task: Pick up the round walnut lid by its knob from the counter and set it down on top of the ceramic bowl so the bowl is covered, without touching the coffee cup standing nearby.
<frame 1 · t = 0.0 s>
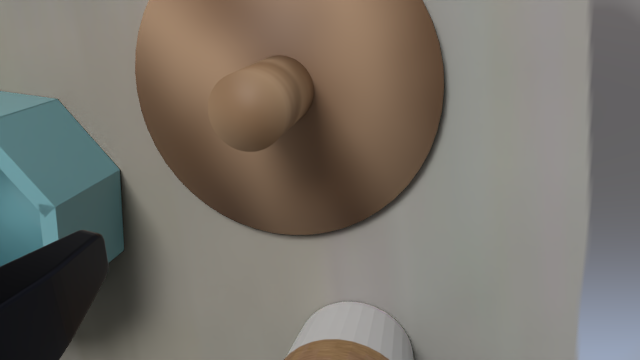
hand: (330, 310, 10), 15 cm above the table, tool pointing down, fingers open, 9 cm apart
bowl: (28, 194, 30), on the table
coffee cup: (356, 348, 29), on the table
lid: (285, 86, 25), on the table
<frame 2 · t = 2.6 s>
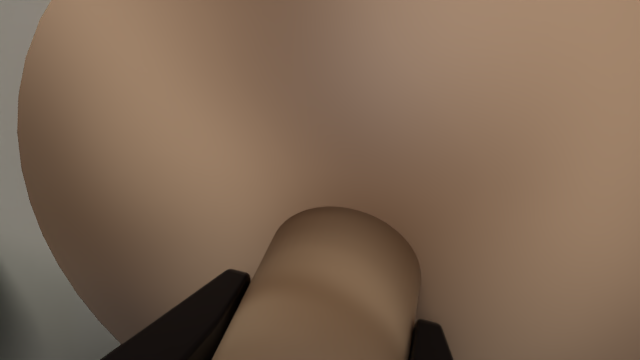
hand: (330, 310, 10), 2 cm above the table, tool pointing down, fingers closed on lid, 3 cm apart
lid: (351, 242, 12), on the table, touching gripper
when the fingers open (8 cm above the table, at t = 6.2 s): lid drops 1 cm, resting on bowl.
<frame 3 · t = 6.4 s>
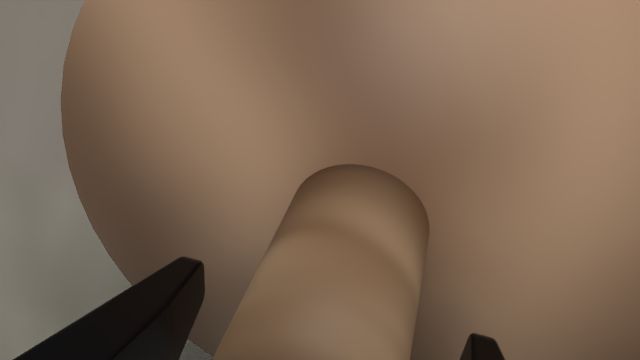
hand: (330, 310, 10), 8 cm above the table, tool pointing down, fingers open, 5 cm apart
lid: (365, 201, 13), point 5 cm above the table, touching bowl
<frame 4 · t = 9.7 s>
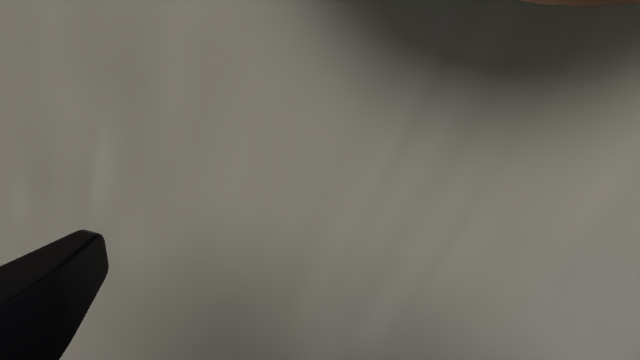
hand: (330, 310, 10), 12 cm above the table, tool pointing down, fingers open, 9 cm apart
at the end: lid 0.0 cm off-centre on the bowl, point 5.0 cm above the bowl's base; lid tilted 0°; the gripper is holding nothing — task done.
